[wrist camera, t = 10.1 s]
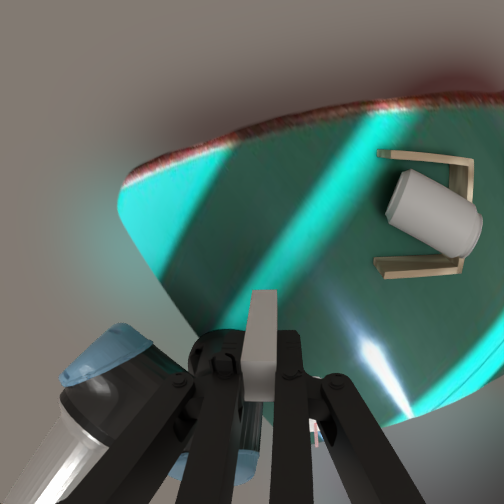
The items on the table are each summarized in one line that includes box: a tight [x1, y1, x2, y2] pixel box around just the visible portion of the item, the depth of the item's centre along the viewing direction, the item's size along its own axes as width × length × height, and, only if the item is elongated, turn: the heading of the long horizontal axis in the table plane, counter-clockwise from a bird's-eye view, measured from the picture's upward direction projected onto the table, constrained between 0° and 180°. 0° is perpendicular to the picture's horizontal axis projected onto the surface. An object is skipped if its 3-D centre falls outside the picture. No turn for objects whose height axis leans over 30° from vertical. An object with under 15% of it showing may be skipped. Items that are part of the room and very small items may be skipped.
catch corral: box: [373, 149, 474, 279], centre depth 32 cm, size 16×13×5 cm
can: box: [385, 169, 483, 259], centre depth 29 cm, size 8×8×12 cm
